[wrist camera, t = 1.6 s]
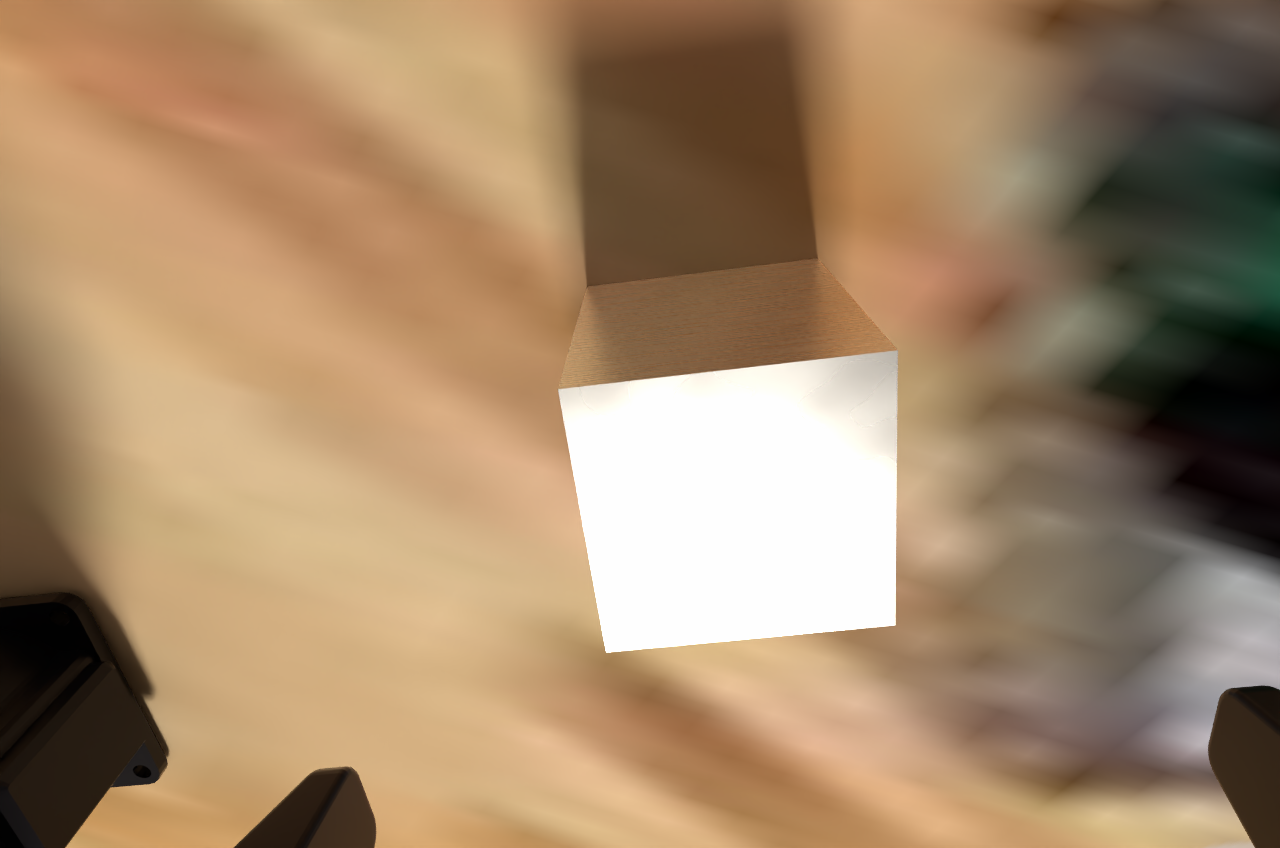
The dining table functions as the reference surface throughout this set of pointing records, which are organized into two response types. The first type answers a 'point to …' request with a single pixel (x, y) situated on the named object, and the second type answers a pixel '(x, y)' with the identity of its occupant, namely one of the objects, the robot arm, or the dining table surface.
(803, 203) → the dining table surface
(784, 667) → the dining table surface
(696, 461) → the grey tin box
